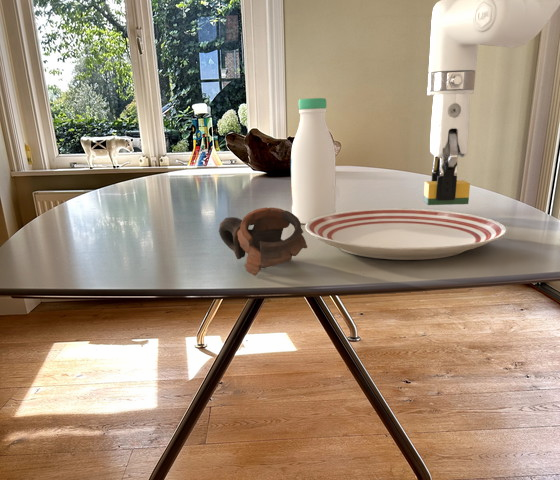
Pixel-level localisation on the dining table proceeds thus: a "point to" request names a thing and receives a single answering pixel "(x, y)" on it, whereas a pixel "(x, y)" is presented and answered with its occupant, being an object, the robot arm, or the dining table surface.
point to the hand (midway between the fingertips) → (442, 196)
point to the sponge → (460, 198)
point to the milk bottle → (313, 164)
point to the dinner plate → (404, 232)
